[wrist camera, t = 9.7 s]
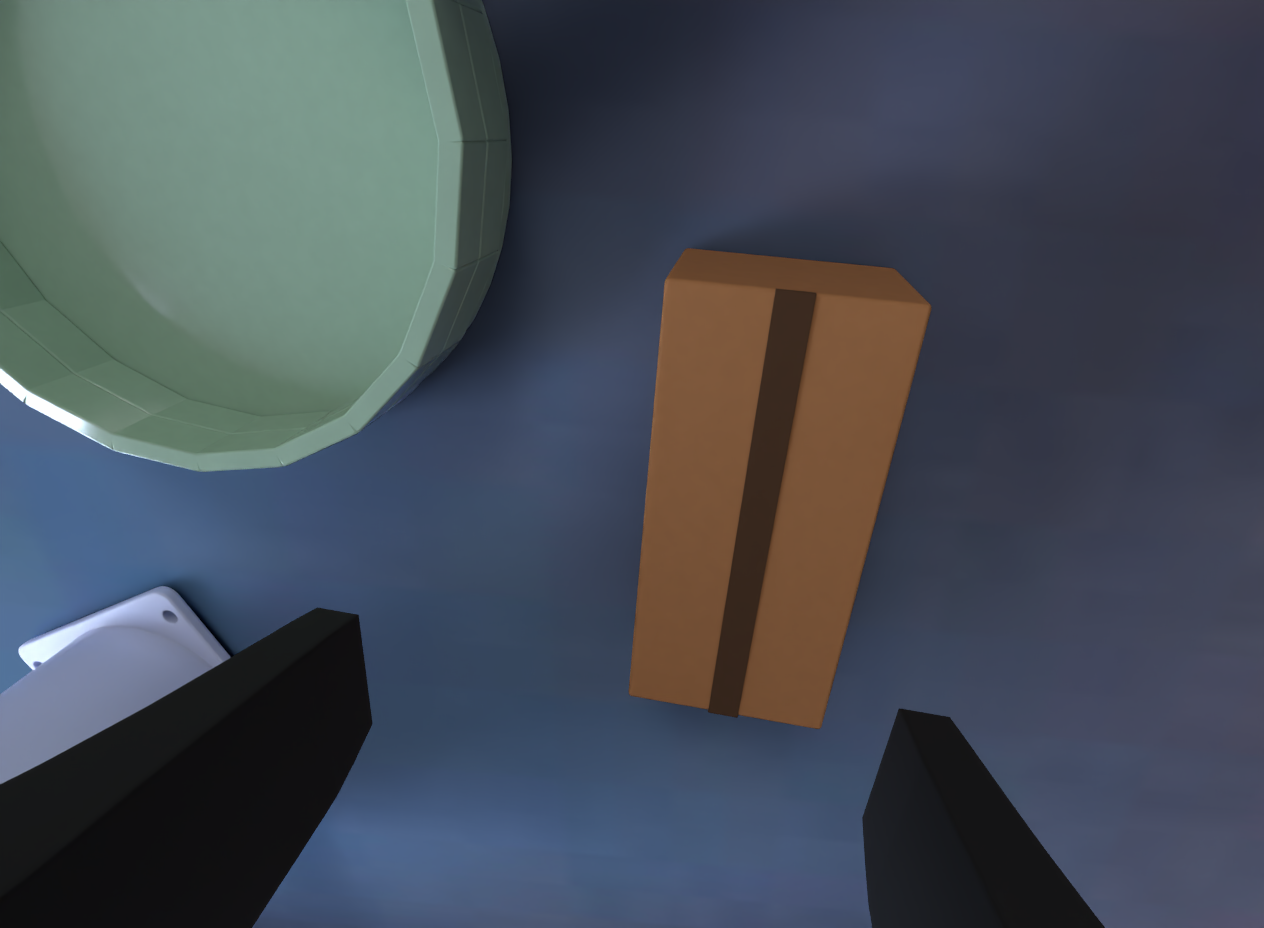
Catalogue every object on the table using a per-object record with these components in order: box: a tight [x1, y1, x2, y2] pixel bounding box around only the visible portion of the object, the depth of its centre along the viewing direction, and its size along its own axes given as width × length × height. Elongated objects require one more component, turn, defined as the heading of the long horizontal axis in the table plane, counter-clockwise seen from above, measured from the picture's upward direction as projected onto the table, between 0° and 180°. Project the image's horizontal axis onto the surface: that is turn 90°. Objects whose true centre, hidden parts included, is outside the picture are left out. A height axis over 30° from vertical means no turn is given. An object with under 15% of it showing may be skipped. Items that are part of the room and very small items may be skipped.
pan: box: [0, 0, 512, 472], centre depth 15 cm, size 15×15×3 cm
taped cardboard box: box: [629, 248, 931, 729], centre depth 16 cm, size 10×5×4 cm, turn 176°
